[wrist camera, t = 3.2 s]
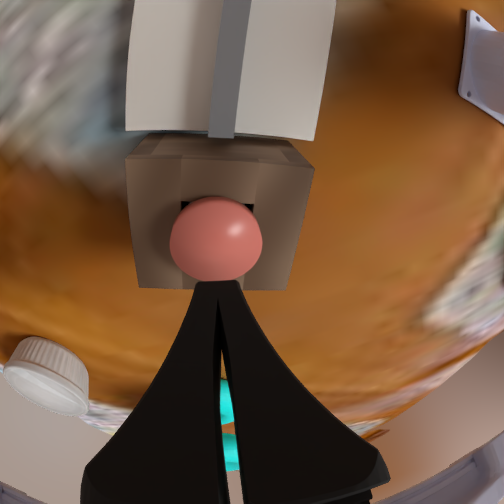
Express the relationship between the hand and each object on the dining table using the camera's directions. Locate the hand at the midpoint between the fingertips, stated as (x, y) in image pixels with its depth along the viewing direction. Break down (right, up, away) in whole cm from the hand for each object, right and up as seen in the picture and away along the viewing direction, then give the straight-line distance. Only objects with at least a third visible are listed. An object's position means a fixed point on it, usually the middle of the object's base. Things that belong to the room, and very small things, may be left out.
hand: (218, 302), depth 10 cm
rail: (+1, +18, -1) cm, 18 cm away
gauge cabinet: (-1, +5, +8) cm, 9 cm away
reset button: (-1, +5, +7) cm, 8 cm away
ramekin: (-22, -11, +17) cm, 30 cm away
